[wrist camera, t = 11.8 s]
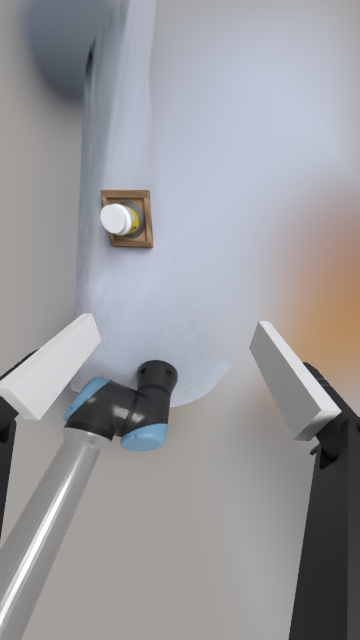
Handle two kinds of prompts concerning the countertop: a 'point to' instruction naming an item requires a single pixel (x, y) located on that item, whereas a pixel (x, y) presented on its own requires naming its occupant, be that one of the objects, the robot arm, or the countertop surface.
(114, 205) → the supplement bottle
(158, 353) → the countertop surface
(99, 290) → the countertop surface
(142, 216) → the dock board
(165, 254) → the countertop surface
